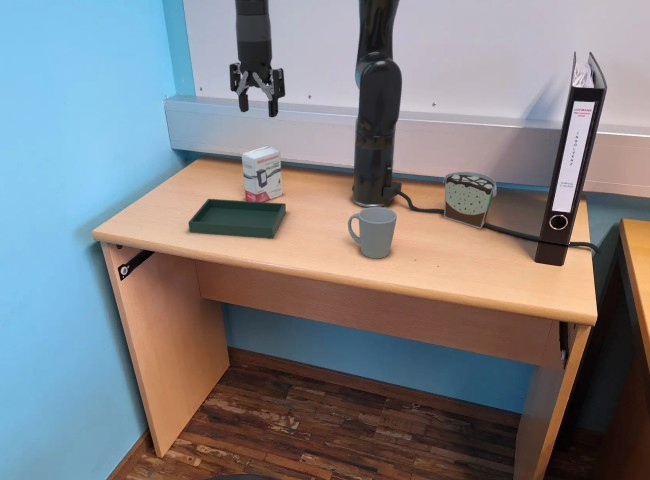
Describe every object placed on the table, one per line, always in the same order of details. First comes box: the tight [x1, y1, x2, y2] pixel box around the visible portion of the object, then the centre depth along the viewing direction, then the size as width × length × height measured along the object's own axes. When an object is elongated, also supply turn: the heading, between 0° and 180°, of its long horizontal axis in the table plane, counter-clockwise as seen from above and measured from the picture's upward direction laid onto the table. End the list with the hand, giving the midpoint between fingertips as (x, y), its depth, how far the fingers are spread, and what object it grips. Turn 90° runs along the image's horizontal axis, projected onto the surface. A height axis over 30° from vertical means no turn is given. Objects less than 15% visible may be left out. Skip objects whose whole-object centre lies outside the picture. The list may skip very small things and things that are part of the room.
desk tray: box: [188, 198, 287, 239], centre depth 125 cm, size 19×13×2 cm
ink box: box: [241, 145, 283, 202], centre depth 134 cm, size 8×5×12 cm, turn 134°
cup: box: [347, 206, 398, 259], centre depth 111 cm, size 8×10×8 cm
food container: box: [442, 171, 498, 230], centre depth 122 cm, size 12×6×10 cm, turn 47°
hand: (258, 114), depth 126 cm, fingers open, 8 cm apart
